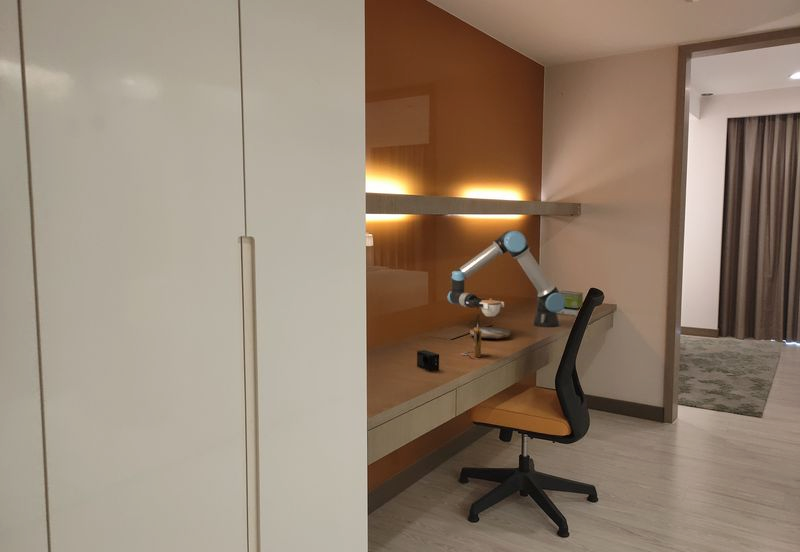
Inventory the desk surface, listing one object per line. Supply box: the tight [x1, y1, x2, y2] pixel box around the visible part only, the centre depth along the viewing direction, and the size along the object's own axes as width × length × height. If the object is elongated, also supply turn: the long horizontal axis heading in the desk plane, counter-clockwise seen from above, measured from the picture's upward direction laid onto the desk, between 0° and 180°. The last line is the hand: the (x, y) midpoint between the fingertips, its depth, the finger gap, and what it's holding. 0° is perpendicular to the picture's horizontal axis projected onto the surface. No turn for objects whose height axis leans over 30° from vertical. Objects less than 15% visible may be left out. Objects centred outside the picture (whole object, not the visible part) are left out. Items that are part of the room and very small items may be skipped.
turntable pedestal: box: [481, 337, 499, 340], centre depth 334 cm, size 10×10×1 cm
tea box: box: [557, 290, 584, 316], centre depth 413 cm, size 15×10×15 cm
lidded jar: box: [480, 297, 502, 317], centre depth 333 cm, size 11×11×9 cm
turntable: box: [469, 326, 512, 339], centre depth 334 cm, size 22×22×2 cm
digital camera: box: [416, 349, 440, 372], centre depth 268 cm, size 10×5×7 cm, turn 36°
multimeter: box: [461, 313, 482, 360], centre depth 290 cm, size 15×10×20 cm
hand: (496, 305), depth 329 cm, fingers closed on lidded jar, 11 cm apart
